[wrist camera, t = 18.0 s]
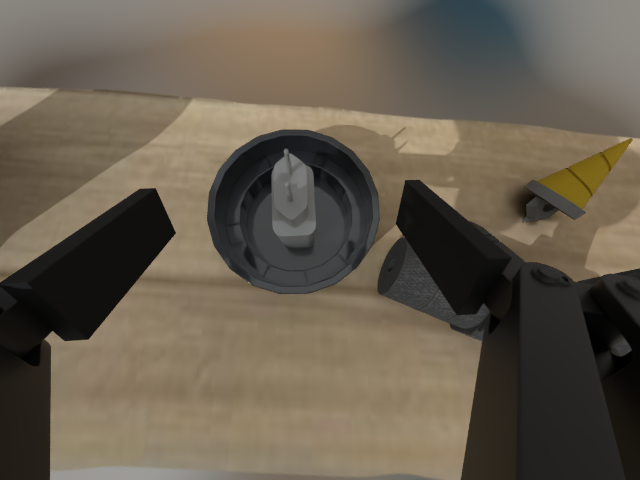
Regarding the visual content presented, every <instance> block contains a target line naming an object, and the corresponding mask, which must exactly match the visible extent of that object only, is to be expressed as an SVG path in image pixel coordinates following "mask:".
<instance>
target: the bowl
mask: <svg viewBox="0 0 640 480" xmlns="http://www.w3.org/2000/svg"><path fill="white" fill-rule="evenodd" d="M284 149H288V151H289V154H293V155H294V156H295V157H297V158H298V159H299V160H301V161H302V162H303V163H304V164H305V165H307V166H309V167H310V168H311V169H312V171H313V176H314V196H315V215H316V229H315V238H314V244H313V246H312V247H311V248H308V249H288V248H286V246H285V245H284V244H283V243H282V241H281V240H280V239H279V237H278V236H277V235H276V233H275V232H274V230H273V226H272V177H271V176H272V171H273V169H274V166H275V164H276V163H277V162H278V161H279V160H281V159H282V158H283V157H284V156H285V155H284ZM379 219H380V217H379V200H378V192H377V190H376V187H375V185H374V182H373V180H372V177H371V175H370V172H369V170H368V169H367V168H366V167H365V165H364V164H363V163H362V162H361V160H360V159H359V158H358V157H357V156H356V154H355V153H354V152H353V151H352V150H350V149H349V148H347V147H346V146H344V145H343V144H341V143H340V142H338V141H337V140H335V139H334V138H332V137H329V136H326V135H323V134H320V133H316V132H313V131H310V130H279V131H275V132H272V133H268V134H264V135H261V136H258V137H256V138H254V139H253V140H251V141H250V142H248V143H246V144H245V145H243V146H241V147H240V148H238V149H237V150H235V152H234V153H233V154H232V155H231V156H230V157H229V158H228V160H227V161H226V162H225V163H224V164H223V165H222V167H221V168H220V169H219V171H218V173H217V175H216V178H215V180H214V182H213V185H212V187H211V190H210V192H209V200H208V213H207V221H208V225H209V229H210V233H211V236H212V240H213V244H214V246H215V248H216V249H217V251H218V252H219V254H220V255H221V257H222V258H223V260H224V261H225V263H226V264H227V265H228V267H229V268H230V269H231V270H232V271H234V272H235V273H236V274H238V275H239V276H240V277H242V278H243V279H244V280H246V281H247V282H248V283H250V284H251V285H253V286H256V287H259V288H262V289H265V290H269V291H272V292H275V293H278V294H308V293H312V292H315V291H317V290H320V289H323V288H326V287H329V286H332V285H335V284H337V283H338V282H339V281H340V280H342V279H343V278H344V277H346V276H347V275H348V274H349V273H351V272H352V271H353V270H355V269H356V268H357V267H358V266H359V265H360V263H361V262H362V260H363V259H364V257H365V256H366V254H367V253H368V251H369V250H370V248H371V247H372V244H373V242H374V238H375V235H376V231H377V227H378V224H379Z"/></svg>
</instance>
